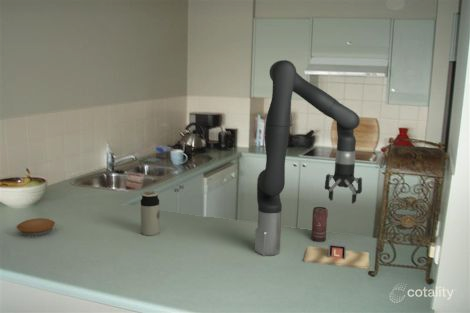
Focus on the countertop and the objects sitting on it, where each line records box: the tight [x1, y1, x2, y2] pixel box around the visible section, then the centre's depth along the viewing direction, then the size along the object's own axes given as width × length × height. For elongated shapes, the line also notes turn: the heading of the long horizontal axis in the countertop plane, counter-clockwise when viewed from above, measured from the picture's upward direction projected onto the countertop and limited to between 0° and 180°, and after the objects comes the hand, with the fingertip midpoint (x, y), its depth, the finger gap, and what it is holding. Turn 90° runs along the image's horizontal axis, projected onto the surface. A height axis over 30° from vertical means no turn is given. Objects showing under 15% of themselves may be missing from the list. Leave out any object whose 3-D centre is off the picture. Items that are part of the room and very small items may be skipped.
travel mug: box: [140, 190, 161, 236], centre depth 211 cm, size 8×8×18 cm
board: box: [303, 245, 370, 270], centre depth 187 cm, size 24×14×1 cm, turn 76°
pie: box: [16, 217, 56, 238], centre depth 210 cm, size 15×16×5 cm
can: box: [311, 206, 329, 243], centre depth 206 cm, size 6×6×14 cm
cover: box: [328, 238, 347, 260], centre depth 187 cm, size 6×6×6 cm
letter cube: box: [332, 246, 343, 259], centre depth 187 cm, size 4×4×4 cm
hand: (342, 201), depth 192 cm, fingers open, 8 cm apart
